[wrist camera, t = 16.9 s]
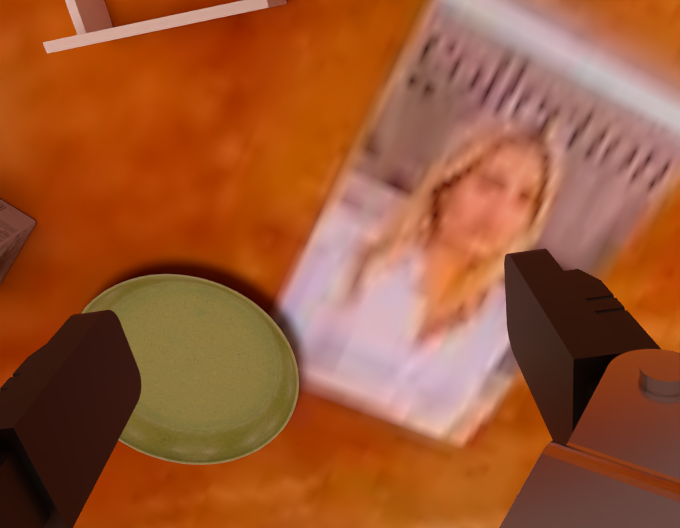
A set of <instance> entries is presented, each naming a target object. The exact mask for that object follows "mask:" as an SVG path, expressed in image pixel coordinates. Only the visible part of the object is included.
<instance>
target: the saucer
mask: <svg viewBox="0 0 680 528" xmlns="http://www.w3.org/2000/svg"><path fill="white" fill-rule="evenodd" d="M103 310H111V311H113V312H114V313H115V314H116V315H117V316H118V318H119V320H120V323H121V325H122V328H123V330H124V333H125V335H126V338H127V341H128V343H129V346H130V348H131V351H132V353H133V356H134V358H135V361H136V364H137V366H138V369H139V372H140V376H141V394H140V398H139V401H138V403H137V405H136V407H135V409H134V411H133V413H132V415H131V416H130V418H129V420H128V422H127V424H126V426H125V428H124V430H123V432H122V434H121V436H120V438H119V441H121V442H122V443H124V444H126V445H128V446H129V447H131V448H133V449H135V450H137V451H139V452H142V453H144V454H147V455H149V456H152V457H155V458H159V459H162V460H166V461H171V462H177V463H182V464H195V465H196V464H216V463H223V462H228V461H232V460H235V459H239V458H242V457H244V456H247V455H249V454H251V453H253V452H255V451H257V450H259V449H261V448H262V447H264V446H265V445H267V444H268V443H269V442H271V441H272V440H273V439H274V438H275V437H276V436H277V435H278V434H279V433H280V432H281V431H282V430H283V428H284V427H285V426H286V424H287V423H288V421H289V419H290V417H291V416H292V414H293V411H294V409H295V406H296V402H297V398H298V393H299V374H298V367H297V363H296V359H295V356H294V353H293V351H292V348H291V346H290V344H289V342H288V340H287V338H286V337H285V335H284V334H283V332H282V331H281V329H280V328H279V326H278V325H277V324H276V323H275V322H274V320H273V319H272V318H271V317H270V316H269V315H268V314H267V313H266V312H265V311H264V310H263V309H262V308H260V307H259V306H258V305H257V304H256V303H254V302H253V301H252V300H250V299H249V298H247V297H246V296H244V295H242V294H241V293H239V292H237V291H235V290H233V289H231V288H229V287H227V286H225V285H222V284H220V283H217V282H214V281H211V280H208V279H204V278H200V277H195V276H189V275H180V274H155V275H147V276H141V277H137V278H133V279H130V280H127V281H124V282H121V283H119V284H116V285H115V286H113V287H111V288H109V289H107V290H105V291H104V292H102V293H101V294H100V295H98V296H97V297H96V298H94V299H93V300H92V301H91V302H90V303H89V304H88V305H87V306H86V307H85V309H84V310H83V311H82V312H81V314H82V313H89V312H96V311H103Z"/></svg>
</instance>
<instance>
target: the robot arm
mask: <svg viewBox="0 0 680 528" xmlns="http://www.w3.org/2000/svg"><path fill="white" fill-rule="evenodd" d="M504 269H505V291H506V313H507V328H508V335H509V340H510V344H511V348H512V351H513V354H514V356H515V358H516V360H517V363H518V365H519V367H520V369H521V371H522V374H523V376H524V378H525V380H526V382H527V385H528V387H529V389H530V391H531V393H532V395H533V398H534V400H535V402H536V404H537V406H538V409H539V411H540V413H541V415H542V417H543V419H544V422H545V424H546V426H547V428H548V430H549V433H550V435H551V437H552V439H553V441H551V442H550V443H548V444H547V446H546V447H545V448H544V450H543V451H542V453H541V455H540V457H539V458H538V460H537V462H536V464H535V465H534V467H533V469H532V471H531V472H530V474H529V476H528V478H527V480H526V481H525V483H524V485H523V487H522V488H521V490H520V492H519V494H518V496H517V497H516V499H515V501H514V503H513V504H512V506H511V508H510V510H509V512H508V513H507V515H506V517H505V519H504V520H503V522H502V524H501V526H500V528H680V353H678V352H674V351H669V350H662V349H661V348H660V347H659V346H658V345H657V344H656V343H655V342H654V340H653V339H652V338H651V337H650V336H649V335H648V334H647V333H646V331H645V330H644V329H643V328H642V327H641V326H640V325H639V323H638V322H637V321H636V320H635V319H634V318H633V317H632V315H631V314H630V313H629V312H628V311H625V309H624V306H623V305H622V304H621V303H620V302H619V301H618V300H617V298H614V296H613V294H612V293H611V292H610V290H609V289H608V288H607V287H606V286H605V285H604V284H603V283H602V281H601V280H599V279H597V278H595V277H593V276H591V275H589V274H587V273H585V272H583V271H581V270H579V269H575V270H568V271H563V269H562V268H561V267H560V266H559V264H558V263H557V262H556V260H555V259H554V258H553V257H552V255H551V254H550V253H549V251H548V250H547V249H538V250H531V251H524V252H517V253H510V254H506V256H505V262H504ZM0 389H1V391H0V528H73V526H74V524H75V522H76V520H77V519H78V517H79V515H80V513H81V511H82V509H83V507H84V505H85V503H86V501H87V499H88V497H89V495H90V494H91V492H92V490H93V488H94V486H95V484H96V482H97V480H98V478H99V476H100V474H101V472H102V470H103V468H104V467H105V465H106V463H107V461H108V459H109V457H110V455H111V453H112V451H113V449H114V447H115V445H116V443H117V441H118V440H119V438H120V436H121V434H122V432H123V430H124V428H125V426H126V424H127V422H128V420H129V418H130V416H131V415H132V413H133V411H134V409H135V407H136V405H137V403H138V401H139V398H140V394H141V376H140V372H139V369H138V366H137V364H136V361H135V358H134V356H133V353H132V351H131V348H130V346H129V343H128V341H127V338H126V335H125V333H124V330H123V328H122V325H121V323H120V320H119V318H118V316H117V315H116V314H115V313H114V312H113V311H111V310H103V311H96V312H89V313H82V314H75V315H72V316H71V317H70V318H69V319H68V320H67V321H66V322H65V323H64V324H63V326H62V327H61V328H60V329H59V330H58V331H57V333H56V334H55V335H54V336H53V337H52V338H51V339H50V341H49V342H48V343H47V344H46V345H44V346H43V347H41V348H40V349H39V350H37V351H36V352H34V353H33V354H32V355H30V356H29V357H28V358H27V359H26V360H25V361H24V362H23V363H22V364H21V365H20V367H19V368H18V369H17V370H16V371H15V372H14V373H13V377H10V378H9V379H8V380H7V381H6V382H5V384H4V385H3V386H2V387H1V388H0Z"/></svg>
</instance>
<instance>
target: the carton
mask: <svg viewBox="0 0 680 528" xmlns="http://www.w3.org/2000/svg"><path fill="white" fill-rule="evenodd" d="M65 2H66V4H67V7H68V10H69V13H70V15H71V18H72V21H73V24H74V27H75V29H76V32H77V35H76V36H71V37H66V38H62V39H57V40H52V41H47V42H43V44H44V47H45V49H46V52H47V53H51V52H56V51H61V50H66V49H71V48H76V47H81V46H86V45H91V44H96V43H101V42H106V41H111V40H116V39H120V38H125V37H130V36H135V35H140V34H144V33H149V32H154V31H159V30H164V29H169V28H173V27H178V26H183V25H188V24H193V23H197V22H202V21H207V20H212V19H217V18H222V17H226V16H231V15H236V14H241V13H246V12H250V11H255V10H260V9H265V8H270V7H275V6H279V5H284V4H287V0H242V1H238V2H233V3H228V4H223V5H219V6H214V7H209V8H204V9H200V10H195V11H190V12H185V13H181V14H176V15H171V16H166V17H161V18H157V19H152V20H147V21H142V22H138V23H133V24H128V25H123V26H119V27H114V28H113V25H112V22H111V19H110V16H109V13H108V10H107V7H106V4H105V1H104V0H65Z"/></svg>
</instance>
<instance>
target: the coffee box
mask: <svg viewBox="0 0 680 528" xmlns="http://www.w3.org/2000/svg"><path fill="white" fill-rule="evenodd" d="M35 225H36V221H35V220H33V219H32V218H30V217H29V216H27V215H26V214H24V213H22V212H21V211H19V210H17V209H16V208H14V207H13V206H11V205H9V204H8V203H6V202H4V201H3V200H1V199H0V284H1V282H2V281H3V279H4V277H5V276H6V274H7V272H8V270H9V269H10V267H11V265H12V264H13V262H14V260H15V258H16V257H17V255H18V253H19V252H20V250H21V248H22V247H23V245H24V243H25V242H26V240H27V238H28V237H29V235H30V233H31V231H32V230H33V228H34V226H35Z"/></svg>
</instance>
